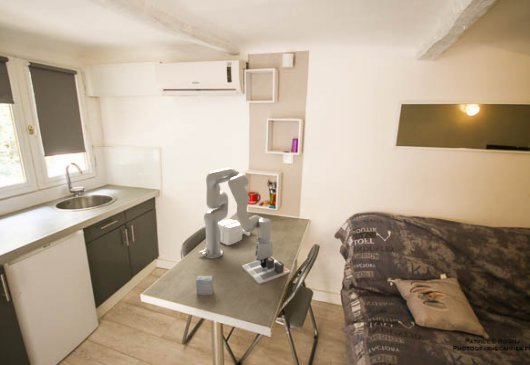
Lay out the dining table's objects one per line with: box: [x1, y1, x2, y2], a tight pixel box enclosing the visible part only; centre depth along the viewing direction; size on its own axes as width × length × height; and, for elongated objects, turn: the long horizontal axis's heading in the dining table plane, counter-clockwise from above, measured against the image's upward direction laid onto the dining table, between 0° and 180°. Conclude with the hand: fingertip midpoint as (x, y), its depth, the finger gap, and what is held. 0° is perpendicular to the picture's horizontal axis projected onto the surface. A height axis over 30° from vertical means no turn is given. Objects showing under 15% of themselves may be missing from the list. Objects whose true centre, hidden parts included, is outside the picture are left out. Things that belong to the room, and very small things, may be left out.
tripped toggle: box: [266, 256, 275, 269], centre depth 154 cm, size 4×4×5 cm
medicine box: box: [195, 275, 214, 296], centre depth 131 cm, size 8×4×9 cm, turn 92°
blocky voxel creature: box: [218, 218, 251, 246], centre depth 194 cm, size 15×25×28 cm
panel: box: [241, 256, 291, 285], centre depth 153 cm, size 22×20×6 cm
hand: (263, 266), depth 152 cm, fingers closed
